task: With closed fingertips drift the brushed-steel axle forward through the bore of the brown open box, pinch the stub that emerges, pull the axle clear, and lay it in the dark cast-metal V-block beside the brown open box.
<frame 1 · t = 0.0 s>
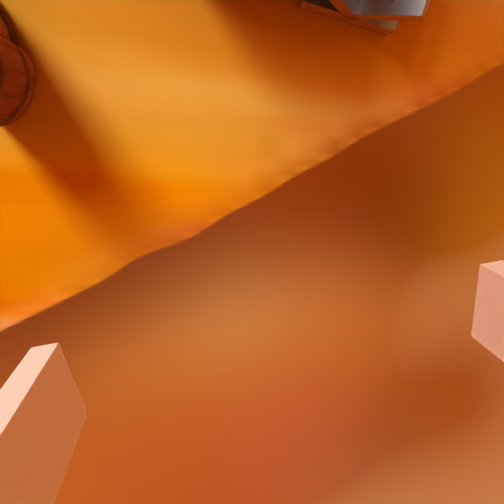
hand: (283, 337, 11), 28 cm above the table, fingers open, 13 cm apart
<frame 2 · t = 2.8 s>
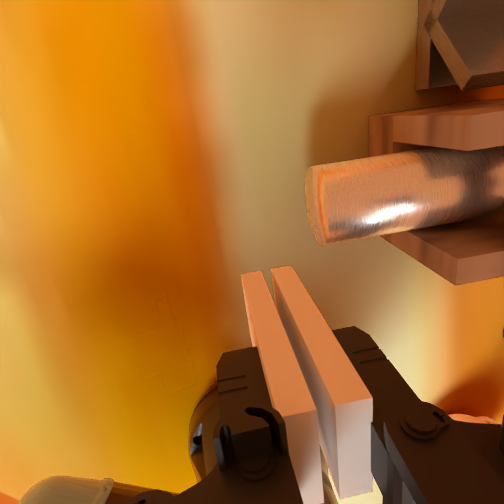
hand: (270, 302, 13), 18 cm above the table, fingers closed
v block: (459, 22, 28), on the table
brown open box: (422, 167, 32), on the table
axle: (416, 179, 28), point 4 cm above the table, touching brown open box
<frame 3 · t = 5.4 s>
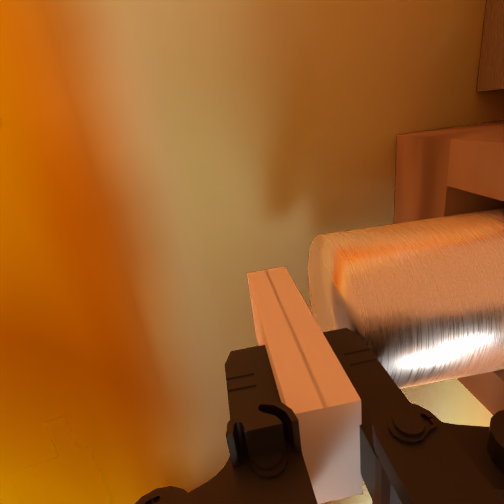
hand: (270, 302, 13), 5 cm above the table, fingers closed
brown open box: (479, 217, 19), on the table
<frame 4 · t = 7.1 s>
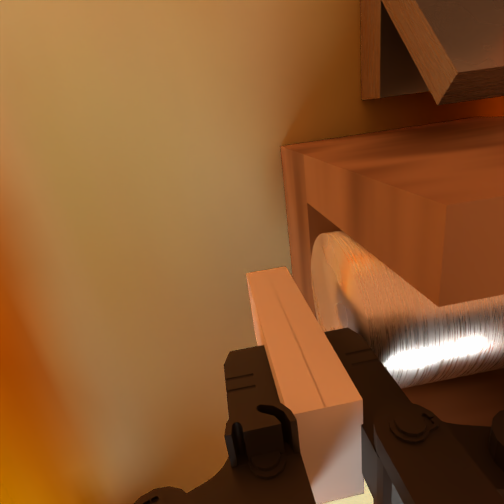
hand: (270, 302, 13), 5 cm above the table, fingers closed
brown open box: (380, 229, 19), on the table
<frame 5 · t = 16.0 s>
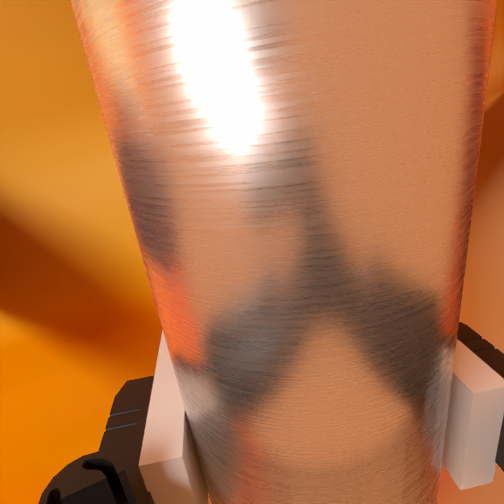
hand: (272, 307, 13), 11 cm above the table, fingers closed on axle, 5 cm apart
axle: (266, 196, 9), point 13 cm above the table, touching gripper
when the fingers open (3 cm above the table, at t = 20.0 s): axle drops 2 cm, resting on v block.
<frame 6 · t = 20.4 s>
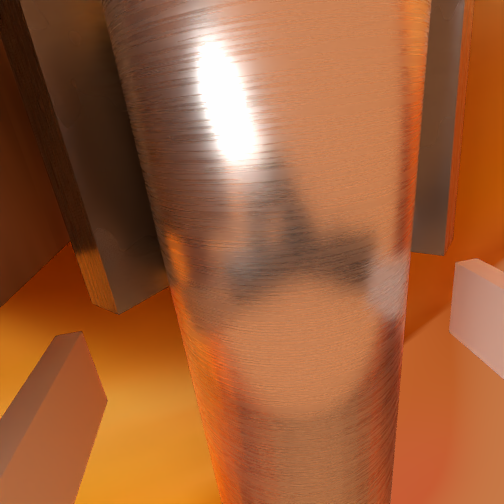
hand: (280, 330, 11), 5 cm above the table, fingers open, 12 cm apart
v block: (239, 126, 13), on the table
axle: (260, 189, 10), point 4 cm above the table, touching v block
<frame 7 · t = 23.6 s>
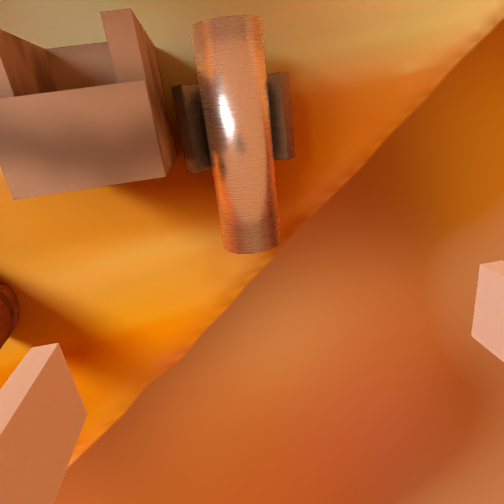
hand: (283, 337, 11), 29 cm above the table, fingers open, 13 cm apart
v block: (231, 123, 36), on the table
brown open box: (114, 111, 34), on the table
axle: (237, 142, 33), point 4 cm above the table, touching v block
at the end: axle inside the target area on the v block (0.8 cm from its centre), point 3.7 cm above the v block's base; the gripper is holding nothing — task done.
